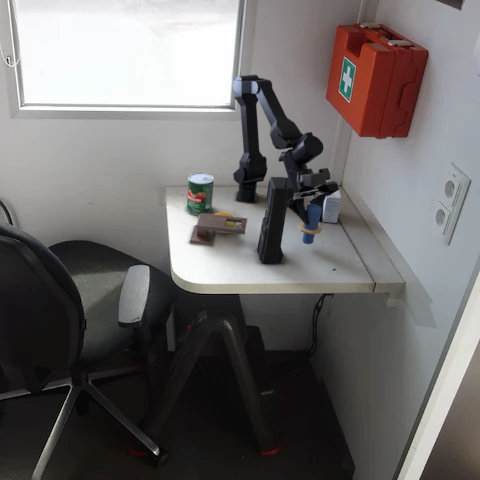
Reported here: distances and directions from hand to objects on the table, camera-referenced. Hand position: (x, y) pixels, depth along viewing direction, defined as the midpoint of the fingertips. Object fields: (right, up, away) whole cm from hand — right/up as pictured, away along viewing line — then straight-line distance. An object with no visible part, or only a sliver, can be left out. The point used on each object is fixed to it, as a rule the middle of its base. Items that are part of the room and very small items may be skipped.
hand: (314, 223), depth 146 cm
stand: (-25, -4, +10) cm, 27 cm away
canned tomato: (-30, +5, +25) cm, 39 cm away
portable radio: (-12, -9, +2) cm, 15 cm away
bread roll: (-24, +1, +14) cm, 27 cm away
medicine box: (+11, +2, +22) cm, 24 cm away
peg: (-1, -5, +5) cm, 7 cm away
